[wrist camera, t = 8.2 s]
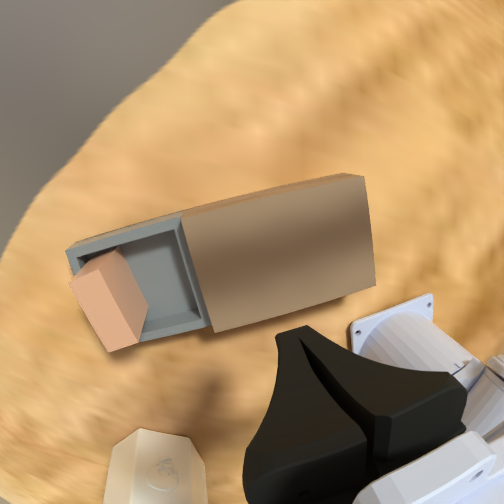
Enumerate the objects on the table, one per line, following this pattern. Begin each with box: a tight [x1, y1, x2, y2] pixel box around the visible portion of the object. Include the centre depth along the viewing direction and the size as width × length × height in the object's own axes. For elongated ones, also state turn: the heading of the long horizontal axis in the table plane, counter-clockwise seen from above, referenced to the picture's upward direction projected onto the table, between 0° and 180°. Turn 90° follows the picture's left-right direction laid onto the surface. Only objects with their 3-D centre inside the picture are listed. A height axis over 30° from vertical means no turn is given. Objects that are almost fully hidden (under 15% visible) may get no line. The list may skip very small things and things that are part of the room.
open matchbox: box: [181, 173, 376, 333], centre depth 20 cm, size 7×10×3 cm, turn 102°
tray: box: [65, 211, 212, 343], centre depth 19 cm, size 7×8×2 cm
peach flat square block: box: [68, 245, 149, 353], centre depth 18 cm, size 4×4×2 cm
